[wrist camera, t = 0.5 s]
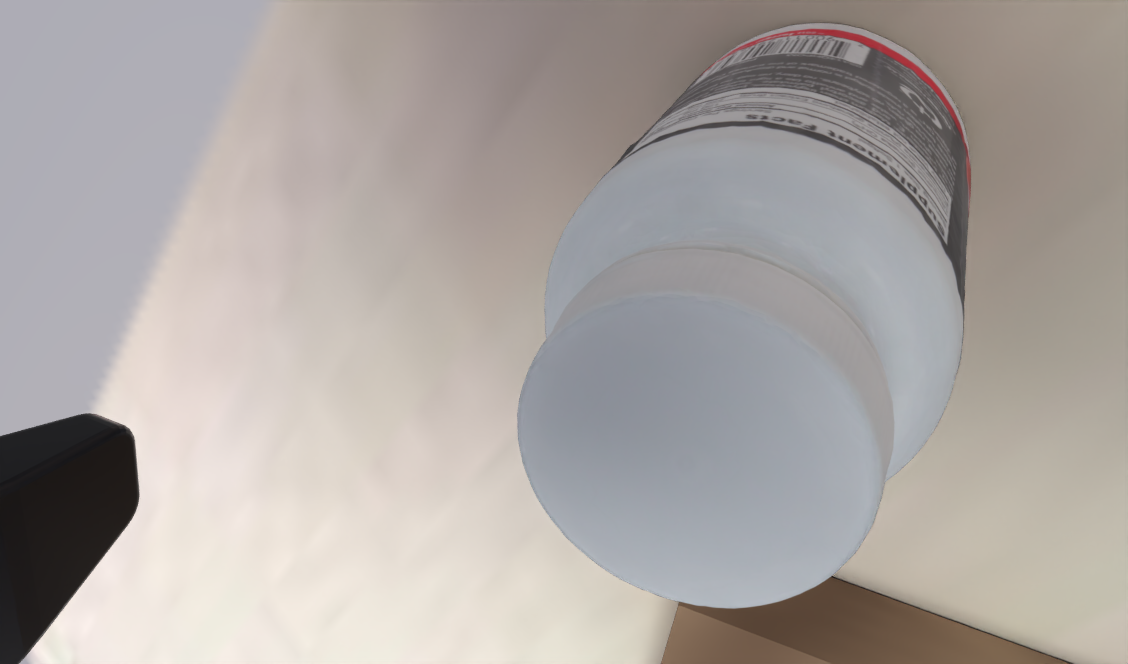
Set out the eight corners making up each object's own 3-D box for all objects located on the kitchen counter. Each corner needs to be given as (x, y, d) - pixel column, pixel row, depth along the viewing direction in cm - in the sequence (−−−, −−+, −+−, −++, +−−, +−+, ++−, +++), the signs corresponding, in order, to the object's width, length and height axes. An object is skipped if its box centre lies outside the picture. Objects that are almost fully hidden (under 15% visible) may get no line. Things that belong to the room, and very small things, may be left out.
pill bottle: (868, 348, 20) (782, 734, 12) (628, 214, 21) (394, 501, 13) (1042, 110, 17) (1079, 414, 9) (756, -41, 18) (555, 125, 10)
